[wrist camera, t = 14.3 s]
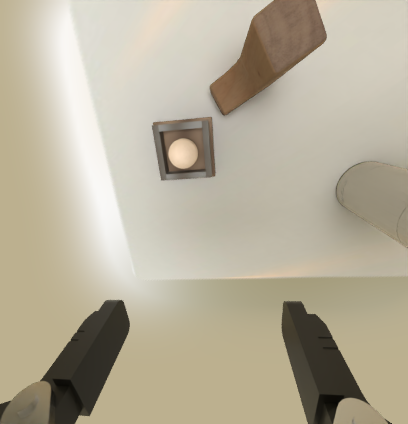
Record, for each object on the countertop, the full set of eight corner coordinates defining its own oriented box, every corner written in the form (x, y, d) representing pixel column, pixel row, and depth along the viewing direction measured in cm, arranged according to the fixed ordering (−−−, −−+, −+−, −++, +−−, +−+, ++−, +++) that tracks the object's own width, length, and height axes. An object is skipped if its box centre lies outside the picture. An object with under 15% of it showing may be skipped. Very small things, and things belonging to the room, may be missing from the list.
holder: (211, 117, 35) (210, 116, 31) (215, 175, 38) (214, 179, 35) (154, 122, 35) (148, 122, 32) (163, 178, 39) (159, 183, 36)
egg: (202, 160, 37) (198, 169, 30) (178, 167, 37) (169, 176, 31) (195, 134, 35) (190, 136, 28) (170, 141, 36) (158, 144, 29)
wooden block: (223, 116, 34) (228, 108, 18) (209, 90, 33) (200, 56, 17) (273, 82, 32) (330, 38, 16) (260, 53, 31) (308, -30, 14)
